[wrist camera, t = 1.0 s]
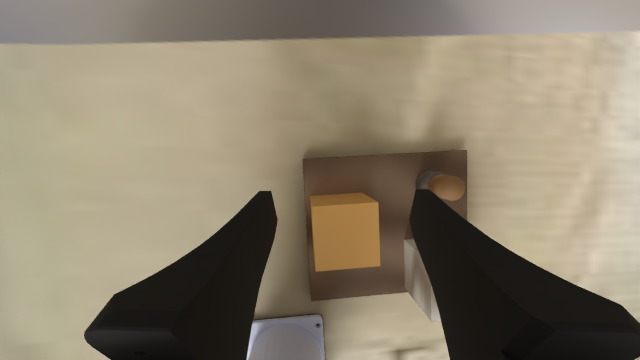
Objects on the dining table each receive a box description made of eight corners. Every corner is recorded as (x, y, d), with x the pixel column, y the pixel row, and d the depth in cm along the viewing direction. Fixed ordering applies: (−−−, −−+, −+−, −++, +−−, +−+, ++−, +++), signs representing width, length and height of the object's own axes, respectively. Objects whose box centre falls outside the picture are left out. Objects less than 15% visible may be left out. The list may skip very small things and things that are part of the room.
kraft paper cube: (364, 242, 23) (380, 266, 18) (313, 246, 23) (315, 271, 18) (362, 192, 23) (378, 202, 18) (310, 195, 22) (311, 206, 17)
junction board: (460, 281, 25) (508, 319, 19) (311, 295, 24) (313, 339, 18) (460, 150, 24) (512, 147, 18) (302, 159, 23) (302, 159, 17)
